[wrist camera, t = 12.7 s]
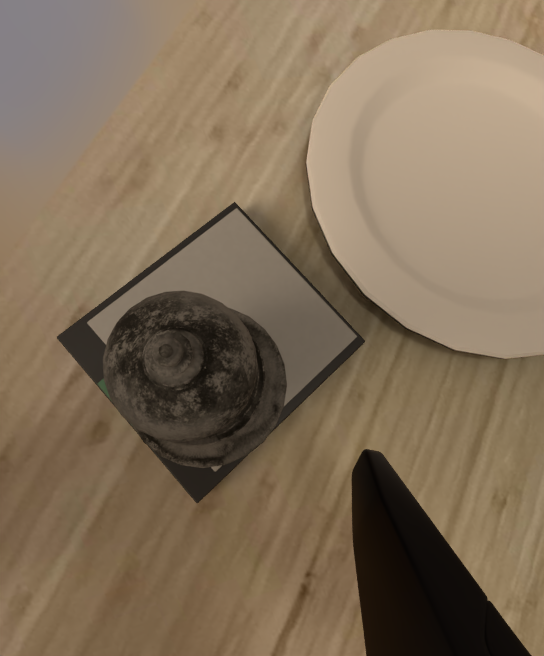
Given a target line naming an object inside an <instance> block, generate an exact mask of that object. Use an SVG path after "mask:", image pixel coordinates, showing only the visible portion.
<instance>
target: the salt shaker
mask: <svg viewBox="0 0 544 656" xmlns="http://www.w3.org/2000/svg"><path fill="white" fill-rule="evenodd" d="M103 375H104V381H105V385H106V388H107V391H108V394H109V397H110V399H111V400H112V402H113V403H114V405H115V406H116V408H117V409H118V411H119V412H120V414H121V415H122V416H123V417H124V418H125V419H126V420H127V421H129V422H130V423H131V424H132V425H133V427H134V428H135V430H136V431H137V433H138V434H139V436H140V437H141V439H142V440H143V442H144V443H145V444H147V445H148V446H149V447H150V448H151V449H153V450H154V451H155V452H156V453H157V454H159V455H160V456H161V457H164V458H166V459H168V460H171V461H173V462H175V463H177V464H180V465H184V466H192V467H199V468H207V467H214V466H221V465H226V464H228V463H231V462H233V461H235V460H238V459H240V458H242V457H245V456H246V455H248V454H249V453H250V452H251V451H253V450H254V449H255V448H257V447H258V446H259V445H260V444H262V443H263V442H264V440H265V439H266V438H267V436H268V435H269V434H270V432H271V431H272V430H273V428H274V427H275V426H276V424H277V421H278V419H279V417H280V414H281V412H282V409H283V407H284V403H285V395H286V388H287V381H286V373H285V364H284V362H283V359H282V357H281V354H280V352H279V349H278V347H277V345H276V343H275V342H274V341H273V339H272V338H271V337H270V335H269V334H268V333H267V331H266V330H265V329H264V328H263V327H262V326H260V325H259V324H258V323H257V322H255V321H254V320H253V319H252V318H250V317H249V316H247V315H245V314H242V313H240V312H238V311H236V310H233V309H231V308H228V307H226V306H225V305H224V304H223V303H221V302H219V301H217V300H215V299H213V298H211V297H208V296H206V295H204V294H200V293H195V292H189V291H169V292H163V293H160V294H157V295H154V296H150V297H147V298H145V299H144V300H142V301H141V302H139V303H137V304H136V305H134V306H133V307H131V308H130V309H129V310H128V311H127V312H126V313H125V314H124V315H123V316H122V317H121V318H120V319H119V320H118V322H117V323H116V325H115V327H114V328H113V330H112V332H111V334H110V336H109V338H108V339H107V344H106V348H105V352H104V356H103Z"/></svg>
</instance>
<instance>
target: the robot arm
mask: <svg viewBox="0 0 544 656" xmlns="http://www.w3.org/2000/svg"><path fill="white" fill-rule="evenodd" d="M352 531H353V547H354V556H355V564H356V573H357V581H358V589H359V597H360V606H361V614H362V622H363V631H364V639H365V647H366V655H367V656H531V655H530V653H529V652H528V651H527V649H526V648H525V647H524V645H523V644H522V643H521V642H520V640H519V639H518V638H517V636H516V635H515V634H514V632H513V631H512V630H511V628H510V627H509V626H508V624H507V623H506V622H505V620H504V619H503V618H502V616H501V615H500V614H499V612H498V611H497V609H496V608H495V607H494V605H493V604H492V603H491V602H490V601H487V596H486V595H485V593H484V592H483V591H482V589H481V588H480V586H479V585H478V584H477V582H476V581H475V580H474V578H473V577H472V576H471V574H470V573H469V571H468V570H467V569H466V567H465V566H464V565H463V563H462V562H461V561H460V559H459V558H458V556H457V555H456V554H455V552H454V551H453V550H452V548H451V547H450V545H449V544H448V543H447V541H446V540H445V539H444V537H443V536H442V535H441V533H440V532H439V530H438V529H437V528H436V526H435V525H434V524H433V522H432V521H431V520H430V518H429V517H428V515H427V514H426V513H425V511H424V510H423V509H422V507H421V506H420V505H419V503H418V502H417V500H416V499H415V498H414V496H413V495H412V494H411V492H410V491H409V489H408V488H407V487H406V485H405V484H404V483H403V481H402V480H401V479H400V477H399V476H398V474H397V473H396V472H395V470H394V469H393V468H392V466H391V465H390V464H389V462H388V461H387V459H386V458H385V457H384V455H383V454H382V453H381V452H379V451H374V450H369V449H365V450H363V452H362V453H361V455H360V457H359V459H358V461H357V463H356V465H355V467H354V469H353V472H352Z"/></svg>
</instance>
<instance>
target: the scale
mask: <svg viewBox="0 0 544 656" xmlns="http://www.w3.org/2000/svg"><path fill="white" fill-rule="evenodd" d="M169 291H189V292H195V293H200V294H204V295H206V296H208V297H211V298H213V299H215V300H217V301H219V302H221V303H223V304H224V305H225V306H226V307H228V308H231V309H233V310H236V311H238V312H240V313H242V314H245V315H247V316H249V317H250V318H252V319H253V320H254V321H255V322H257V323H258V324H259V325H260V326H262V327H263V328H264V329H265V330H266V331H267V333H268V334H269V335H270V337H271V338H272V339H273V341H274V342H275V343H276V345H277V347H278V349H279V352H280V354H281V357H282V359H283V362H284V364H285V373H286V381H287V388H286V395H285V403H284V407H283V409H282V412H281V414H280V417H279V419H278V421H277V424H276V426H275V427H274V428H273V430H274V429H275V428H276V427H277V426H278V425H279V424H280V423H281V422H282V421H283V420H284V419H286V418H287V417H288V416H289V415H290V414H291V413H292V412H293V411H294V410H295V409H296V408H297V407H298V406H299V405H300V404H301V403H302V402H303V401H304V400H305V399H306V398H307V397H308V396H309V395H310V394H311V393H312V392H314V391H315V390H316V389H317V388H318V387H319V386H320V385H321V384H322V383H323V382H324V381H325V380H326V379H327V378H328V377H329V376H330V375H331V374H332V373H333V372H334V371H335V370H336V369H337V368H338V367H339V366H340V365H342V364H343V363H344V362H345V361H346V360H347V359H348V358H349V357H350V356H351V355H352V354H353V353H354V352H355V351H356V350H357V349H358V348H359V347H360V346H361V345H362V344H363V343H364V342H365V340H364V339H363V338H362V337H361V336H360V335H359V334H358V333H357V332H356V331H355V330H354V329H353V328H352V326H351V325H350V324H349V323H348V322H347V321H346V320H345V319H344V318H343V317H342V316H341V315H340V314H339V313H338V312H337V310H336V309H335V308H334V307H333V306H332V305H331V304H330V303H329V302H328V301H327V300H326V299H325V298H324V297H323V296H322V295H321V293H320V292H319V291H318V290H317V289H316V288H315V287H314V286H313V285H312V284H311V283H310V282H309V281H308V280H307V279H306V277H305V276H304V275H303V274H302V273H301V272H300V271H299V270H298V269H297V268H296V267H295V266H294V265H293V264H292V263H291V261H290V260H289V259H288V258H287V257H286V256H285V255H284V254H283V253H282V252H281V251H280V250H279V249H278V248H277V247H276V245H275V244H274V243H273V242H272V241H271V240H270V239H269V238H268V237H267V236H266V235H265V234H264V233H263V232H262V231H261V229H260V228H259V227H258V226H257V225H256V224H255V223H254V222H253V221H252V220H251V219H250V218H249V217H248V216H247V215H246V213H245V212H244V211H243V210H242V209H241V208H240V207H239V206H238V205H237V204H236V203H235V202H234V203H233V204H231V205H230V206H229V207H227V208H226V209H225V210H223V211H222V212H221V213H219V214H218V215H217V216H215V217H214V218H213V219H212V220H210V221H209V222H208V223H206V224H205V225H204V226H202V227H201V228H200V229H198V230H197V231H196V232H194V233H193V234H192V235H190V236H189V237H188V238H186V239H185V240H184V241H183V242H181V243H180V244H179V245H177V246H176V247H175V248H173V249H172V250H171V251H169V252H168V253H167V254H165V255H164V256H163V257H161V258H160V259H159V260H157V261H156V262H155V263H154V264H152V265H151V266H150V267H148V268H147V269H146V270H144V271H143V272H142V273H140V274H139V275H138V276H136V277H135V278H134V279H132V280H131V281H130V282H128V283H127V284H126V285H125V286H123V287H122V288H121V289H119V290H118V291H117V292H115V293H114V294H113V295H111V296H110V297H109V298H107V299H106V300H105V301H103V302H102V303H101V304H99V305H98V306H97V307H96V308H94V309H93V310H92V311H90V312H89V313H88V314H86V315H85V316H84V317H82V318H81V319H80V320H78V321H77V322H76V323H74V324H73V325H72V326H70V327H69V328H68V329H67V330H65V331H64V332H63V333H61V334H60V335H59V336H57V339H58V340H59V341H60V342H61V343H62V345H63V346H64V347H65V348H66V349H67V350H68V352H69V353H70V354H71V355H72V356H73V358H74V359H75V360H76V361H77V362H78V363H79V365H80V366H81V367H82V368H83V369H84V371H85V372H86V373H87V374H88V375H89V376H90V378H91V379H92V380H93V381H94V382H95V384H96V385H97V386H98V387H99V388H100V389H101V391H102V392H103V393H104V394H105V395H106V397H107V398H108V399H109V400H110V401H111V403H112V404H113V405H114V403H113V402H112V400H111V399H110V397H109V394H108V391H107V388H106V385H105V381H104V375H103V356H104V352H105V348H106V344H107V339H108V338H109V336H110V334H111V332H112V330H113V328H114V327H115V325H116V323H117V322H118V320H119V319H120V318H121V317H122V316H123V315H124V314H125V313H126V312H127V311H128V310H129V309H130V308H131V307H133V306H134V305H136V304H137V303H139V302H141V301H142V300H144V299H145V298H147V297H150V296H154V295H157V294H160V293H163V292H169ZM114 406H115V405H114ZM115 407H116V406H115ZM117 410H118V409H117ZM128 423H129V424H130V425H131V426H132V427H133V425H132V424H131V423H130V422H129V421H128ZM133 429H134V430H135V428H134V427H133ZM273 430H272V431H273ZM135 431H136V430H135ZM272 431H271V432H272ZM136 432H137V431H136ZM271 432H270V433H271ZM150 449H151V448H150ZM151 450H152V451H153V452H154V453H155V455H156V456H157V457H158V458H159V459H160V460H161V462H162V463H163V464H164V465H165V466H166V468H167V469H168V470H169V471H170V472H171V473H172V475H173V476H174V477H175V478H176V479H177V481H178V482H179V483H180V484H181V485H182V486H183V488H184V489H185V490H186V491H187V492H188V494H189V495H190V496H191V497H192V498H193V499H194V501H195V502H196V503H198V502H199V501H200V500H202V499H203V498H204V497H205V496H206V495H207V494H208V493H209V492H210V491H211V490H212V489H213V488H214V487H215V486H216V485H217V484H218V483H219V482H220V481H221V480H222V479H223V478H224V477H225V476H226V475H227V474H228V473H230V472H231V471H232V470H233V469H234V468H235V467H236V466H237V465H238V464H239V463H240V462H241V461H242V460H243V459H244V458H245V457H246V456H247V455H246V456H245V457H242V458H240V459H238V460H235V461H233V462H231V463H228V464H226V465H221V466H214V467H207V468H199V467H192V466H184V465H180V464H177V463H175V462H173V461H171V460H168V459H166V458H164V457H161V456H160V455H159V454H157V453H156V452H155V451H154V450H153V449H151Z"/></svg>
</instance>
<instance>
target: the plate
mask: <svg viewBox="0 0 544 656" xmlns="http://www.w3.org/2000/svg"><path fill="white" fill-rule="evenodd" d="M306 169H307V176H308V183H309V190H310V197H311V204H312V210H313V212H314V215H315V217H316V219H317V221H318V224H319V226H320V228H321V231H322V233H323V235H324V238H325V240H326V242H327V245H328V247H329V249H330V251H331V254H332V255H333V257H334V258H335V259H336V260H337V262H338V263H339V264H340V266H341V267H342V268H343V269H344V271H345V272H346V273H347V275H348V276H349V277H350V278H351V280H352V281H353V282H354V284H355V285H356V286H357V288H358V289H359V290H360V291H361V293H362V294H363V295H364V296H365V297H366V298H368V299H369V300H370V301H371V302H373V303H374V304H375V305H376V306H378V307H379V308H380V309H381V310H383V311H384V312H385V313H386V314H388V315H389V316H390V317H392V318H393V319H394V320H395V321H397V322H398V323H399V324H400V325H402V326H403V327H404V328H406V329H408V330H410V331H412V332H414V333H416V334H419V335H421V336H423V337H425V338H427V339H430V340H432V341H434V342H436V343H438V344H441V345H443V346H445V347H447V348H449V349H452V350H455V351H460V352H466V353H472V354H478V355H483V356H489V357H495V358H500V359H508V358H517V357H527V356H536V355H544V55H542V54H540V53H537V52H535V51H533V50H531V49H529V48H527V47H525V46H523V45H520V44H518V43H516V42H514V41H512V40H509V39H504V38H500V37H496V36H492V35H488V34H484V33H479V32H475V31H471V30H427V31H423V32H418V33H414V34H410V35H405V36H401V37H397V38H392V39H390V40H388V41H386V42H384V43H382V44H380V45H379V46H377V47H375V48H373V49H371V50H369V51H367V52H366V53H364V54H362V55H360V56H358V57H357V58H356V59H355V60H354V61H353V62H352V63H351V64H350V65H349V66H348V67H347V68H346V69H345V70H344V71H343V72H342V73H341V74H340V75H339V76H338V77H337V78H336V79H335V80H334V81H333V82H332V83H331V84H330V86H329V88H328V90H327V92H326V94H325V96H324V98H323V100H322V102H321V104H320V106H319V108H318V110H317V112H316V114H315V116H314V118H313V121H312V127H311V133H310V140H309V147H308V153H307V160H306Z"/></svg>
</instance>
